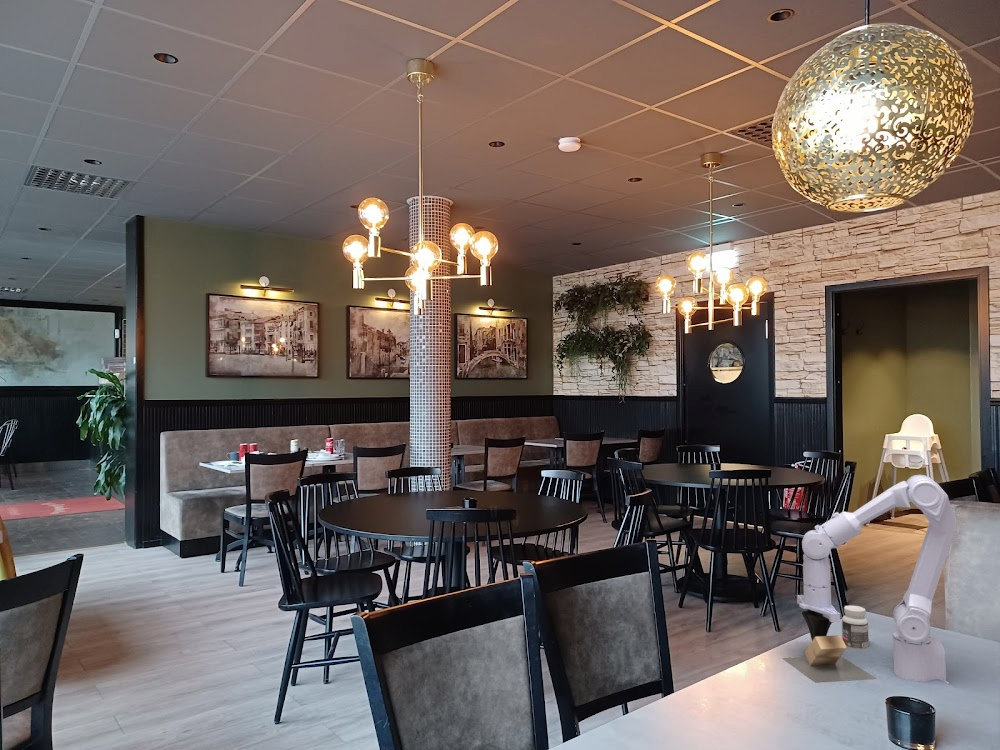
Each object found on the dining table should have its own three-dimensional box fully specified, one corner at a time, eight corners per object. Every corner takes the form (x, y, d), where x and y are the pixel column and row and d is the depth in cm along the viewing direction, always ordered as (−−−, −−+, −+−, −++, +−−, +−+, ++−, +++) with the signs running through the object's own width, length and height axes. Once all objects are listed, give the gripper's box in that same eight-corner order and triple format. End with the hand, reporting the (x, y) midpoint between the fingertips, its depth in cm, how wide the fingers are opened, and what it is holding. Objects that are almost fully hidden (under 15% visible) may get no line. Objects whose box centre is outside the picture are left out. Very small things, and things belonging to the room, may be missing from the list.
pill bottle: (839, 644, 177) (838, 604, 177) (863, 645, 176) (862, 604, 176) (847, 653, 171) (846, 611, 171) (872, 653, 170) (871, 612, 171)
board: (839, 660, 167) (838, 654, 167) (877, 684, 153) (877, 678, 153) (782, 663, 165) (782, 658, 165) (815, 688, 151) (815, 682, 151)
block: (829, 651, 164) (840, 635, 159) (835, 663, 161) (846, 647, 157) (804, 652, 163) (815, 636, 158) (810, 665, 161) (821, 649, 156)
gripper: (784, 577, 170) (785, 634, 169) (817, 594, 155) (819, 657, 155) (812, 575, 170) (813, 633, 170) (848, 592, 156) (850, 655, 156)
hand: (818, 644), depth 163 cm, fingers closed
